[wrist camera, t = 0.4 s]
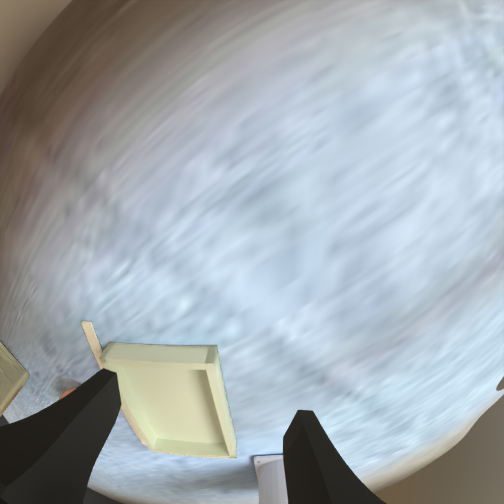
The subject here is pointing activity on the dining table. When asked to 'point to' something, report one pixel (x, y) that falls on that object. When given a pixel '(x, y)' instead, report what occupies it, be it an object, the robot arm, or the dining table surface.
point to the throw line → (97, 352)
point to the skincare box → (10, 378)
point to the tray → (174, 397)
